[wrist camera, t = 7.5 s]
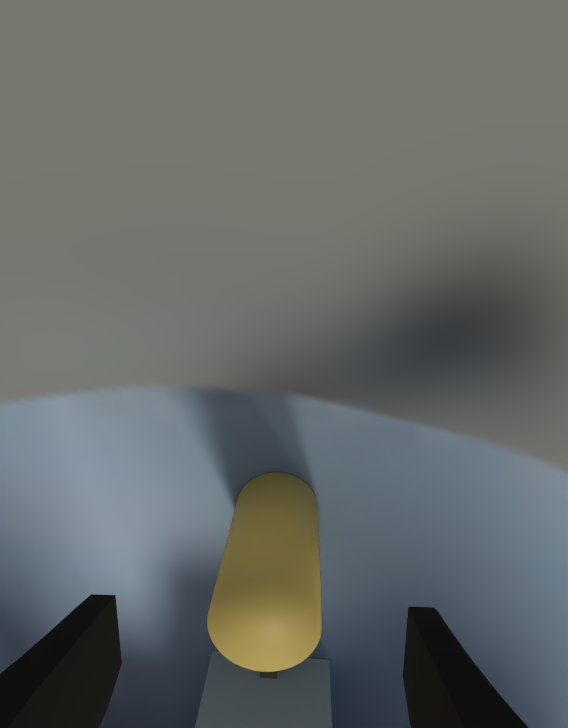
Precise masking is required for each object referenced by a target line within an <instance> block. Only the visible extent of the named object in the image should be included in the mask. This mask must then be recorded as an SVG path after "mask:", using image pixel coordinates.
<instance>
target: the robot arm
mask: <svg viewBox="0 0 568 728" xmlns="http://www.w3.org/2000/svg"><path fill="white" fill-rule="evenodd" d="M121 664H122V661H121V651H120V640H119V630H118V619H117V609H116V598H115V595H92V594H91V595H90V596H89V597H88V598H87V599H86V600H84V601H83V602H82V603H81V604H80V605H79V606H78V607H77V608H75V609H74V610H73V611H72V612H71V613H70V614H69V615H68V616H67V617H65V618H64V619H63V620H62V621H61V622H60V623H59V624H58V625H57V626H56V627H54V628H53V629H52V630H51V631H50V632H49V633H48V634H47V635H46V636H44V637H43V638H42V639H41V640H40V641H39V642H38V643H36V644H35V645H34V646H33V647H32V648H31V649H30V650H28V651H27V652H26V653H25V654H24V655H23V656H22V657H20V658H19V659H18V660H17V661H15V662H14V663H13V664H12V665H11V666H9V667H8V668H7V669H6V670H4V671H3V672H2V673H1V674H0V728H99V726H100V724H101V721H102V719H103V717H104V714H105V712H106V710H107V708H108V705H109V702H110V699H111V696H112V693H113V689H114V686H115V683H116V680H117V677H118V673H119V670H120V667H121ZM403 679H404V686H405V693H406V700H407V707H408V713H409V720H410V725H411V728H528V727H527V726H526V724H525V723H524V722H523V721H522V720H521V719H520V718H519V717H518V716H517V714H516V713H515V712H514V711H513V710H512V709H511V708H510V706H509V705H508V704H507V703H506V702H505V701H504V699H503V698H502V697H501V696H500V695H499V693H498V692H497V691H496V690H495V689H494V687H493V686H492V685H491V684H490V682H489V681H488V680H487V679H486V677H485V676H484V675H483V673H482V672H481V671H480V670H479V668H478V667H477V666H476V665H475V663H474V662H473V661H472V659H471V658H470V657H469V655H468V654H467V653H466V651H465V650H464V648H463V647H462V646H461V644H460V643H459V642H458V640H457V639H456V637H455V636H454V635H453V633H452V632H451V630H450V629H449V627H448V626H447V624H446V623H445V621H444V620H443V618H442V617H441V615H440V614H439V612H438V611H437V610H436V609H435V608H428V607H408V619H407V632H406V645H405V658H404V671H403Z"/></svg>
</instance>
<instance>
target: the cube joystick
mask: <svg viewBox="0 0 568 728" xmlns="http://www.w3.org/2000/svg"><path fill="white" fill-rule="evenodd" d="M207 627H208V632H209V635H210V638H211V640H212V642H213V644H214V645H215V647H216V648H217V649H218V651H212V653H211V658H210V662H209V667H208V671H207V676H206V680H205V685H204V689H203V693H202V698H201V702H200V707H199V711H198V716H197V720H196V724H195V728H332V709H331V687H330V664H329V660H327V659H313V658H307V657H309V655H310V654H311V653H312V652H313V651H314V649H315V648H316V646H317V644H318V642H319V640H320V637H321V631H322V615H321V582H320V548H319V515H318V502H317V499H316V497H315V494H314V493H313V491H312V490H311V488H310V487H309V486H308V485H307V484H306V483H305V482H304V481H302V480H301V479H299V478H297V477H295V476H293V475H290V474H287V473H281V472H271V473H265V474H262V475H259V476H257V477H255V478H253V479H252V480H250V481H249V482H248V483H247V484H246V485H245V486H244V487H243V488H242V490H241V492H240V493H239V496H238V499H237V503H236V506H235V510H234V514H233V518H232V522H231V526H230V530H229V534H228V538H227V541H226V545H225V549H224V553H223V557H222V561H221V565H220V569H219V573H218V576H217V580H216V584H215V588H214V592H213V596H212V600H211V604H210V607H209V611H208V616H207Z"/></svg>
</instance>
